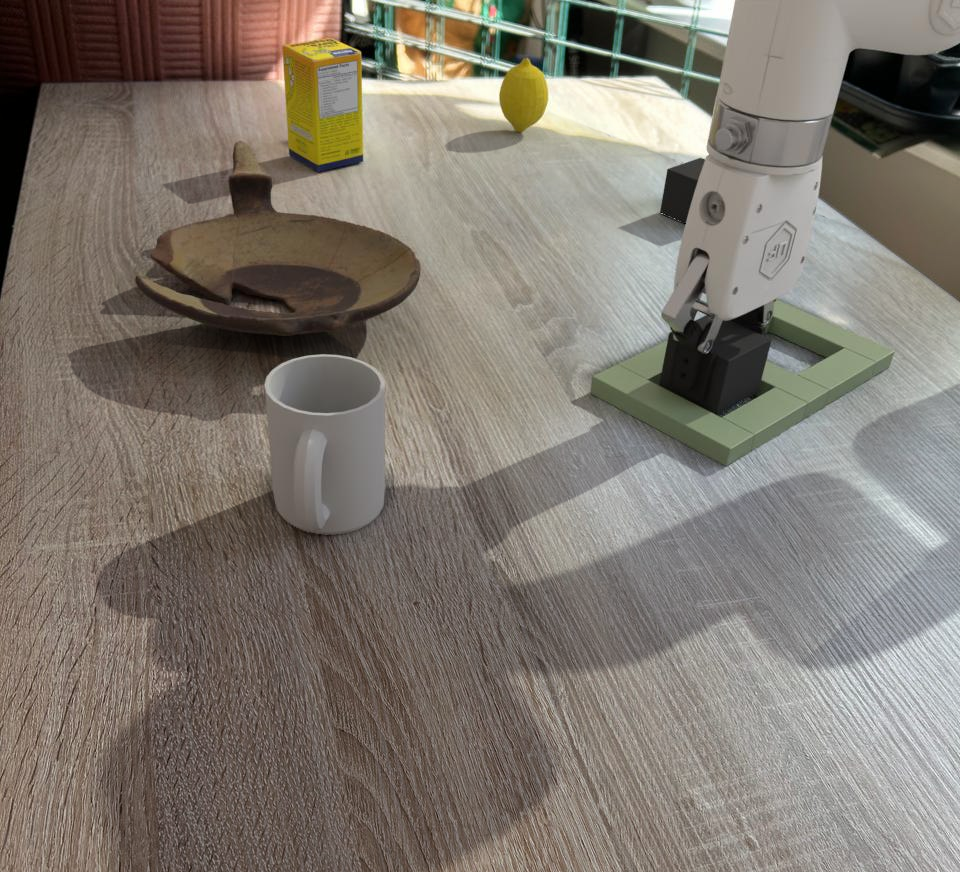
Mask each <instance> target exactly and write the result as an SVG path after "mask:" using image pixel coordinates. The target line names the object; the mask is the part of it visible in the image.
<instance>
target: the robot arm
mask: <svg viewBox="0 0 960 872" xmlns="http://www.w3.org/2000/svg"><path fill="white" fill-rule="evenodd" d="M959 44H960V0H734V4H733V9H732V14H731V19H730V26H729V29H728V35H727V41H726V46H725V51H724V56H723V61H722V66H721V71H720V77H719V82H718V86H717V92H716V96H715V100H714V106H713V110H712V117H711V121H710V126H709V132H708V136H707V143H706V147H705V148H706V152H707V155H706V156H705V158H704V159H705V162H704V165H703V168H702V171H701V173H700V176H699V179H698V183H697V186H696V189H695V192H694V195H693V199H692V202H691V206H690V209H689V213H688V217H687V221H686V224H684V228H683V233H682V236H681V243H680V246H679V251H678V256H677V261H676V266H675V273H674V278H673V279H674V281H673V292H672V293H671V295H670V296H669V298H668V300H667V302H666V304H665V305H664V306H663V309H662V310H661V314H660V316H661V319H662V320H663V321H664V322H665V323H666V324H667V326H668V327H669V329H670V332H673V333H674V334H673V339H674V340H675V341H677V342H676V347H675V352H674V357H673V362H672V367H671V372H670V377H669V386H670V387H671V388H673V389H675V390H677V391H679V392H681V393H683V394H685V395H687V396H688V397H690V398H692V399H694V400H696V401H702V400H704V399H705V398H706V397H707V392H708V388H709V384H710V379H711V375H712V371H713V366H714V362H715V358H716V353H717V352H716V351H714V350H712V347H713V344H714V342H715V339H716V337H717V334H718V332H719V329H720V327H721V324H722V322H723V320H724V321H728V320H731V321H733V322H735V323H738V324H740V325H742V326H744V327H746V328H749V329H751V330H753V331H755V332H757V333H760V334H762V335H764V336H765V334H764V333H765V330H766V327H765V326H763V325H762V324H765V325H766V324H768V323H769V321H770V320H771V318H772V316H773V308H774V302H775V301H776V299H777V300H778V299H779V298H781V297H783V296H785V295H787V294H788V293H789V292H791V291H792V290H793V289H795V288H796V286H797V285H798V284H799V282H800V280H801V277H802V273H803V269H804V266H805V261H806V258H807V253H808V250H809V245H810V241H811V236H812V232H813V226H814V221H815V217H816V212H817V206H818V200H819V195H820V188H821V180H822V170H823V155H824V151H825V147H826V144H827V139H828V137H829V132H830V129H831V125H832V121H833V117H834V113H835V109H836V105H837V103H838V98H839V95H840V90H841V86H842V83H843V79H844V75H845V71H846V68H847V64H848V60H849V56H850V53H851V52H853V51H854V50H857V49H864V50H873V51H879V52H886V53H892V54H893V53H894V54H899V55H905V56H927V55H933V54H937V53H941V52H943V51H946V50H949V49H951V48H953V47H955V46H957V45H959ZM703 294H704V295H705V296H706V301H704V300H702V299H701V298H702V296H703ZM698 312H699V313H701V314H703V315H705V316H706V315H708V316H709V318H708V321H707V323H706V326H705V328H704V331H703V330H702V328H701V327H700V325H699V323H698V322H696V321H695V318H696V316H697V313H698Z"/></svg>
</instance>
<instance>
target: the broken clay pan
mask: <svg viewBox="0 0 960 872" xmlns="http://www.w3.org/2000/svg"><path fill="white" fill-rule="evenodd" d="M232 165H233V167H232V173H231V174H230V176H229V177H228V181H227V183H228V188H229V194H230V199H231V207H232V210H233V213H228V214H227V215H224V216H220V217H216V218H211V219H206V220H201V221H195V222H192V223H188V224H185V225H182V226H180V227H176V228H172V229H169V230H167V231H165V232H163V233H162V234H160V235H159V236H158V237H157V240H156V245H155V247H154V248H153V250H152V251H150V253H149V257H150V258H151V259H152V260H153V261H154V262H156V263H157V264H158V265H159V266H160V267H161V268H162V269H164V270H165V271H166V272H168V273H169V274H172V275H173V276H174V277H176V278H177V279H178V280H179V281H181V282H182V283H184V284H186V285H187V286H189V287H190V288H191V290H195V291H196V292H197V293H200V294H202V295H203V296H204V297H206V298H201V297H196V296H193V295H191V294H190V295H189V294H184V293H180V292H177V291H176V290H174V289H171V288H169V287H166V286H162V285H161V284H158V283H156V282H154V281H152V280H150V279H148V278H147V277H144V276H141V275H135V277H134V279H135V280H134V282H135V285H136V286H137V287H138V289H139V290H140V291H141V292H142V294H143V295H145V296H146V297H147V298H148V299H149V300H151V301H153V302H155V303H156V304H158V305H159V306H160V307H162V308H165V309H166V310H169V311H170V312H173V313H175V314H177V315H180V316H182V317H184V318H186V319H189V320H192V321H195V322H197V323H200V324H203V325H207V326H210V327H213V328H217V329H223V330H227V331H232V332H239V333H247V334H256V335H257V334H259V335H270V336H271V335H275V336H283V337H286V336H287V337H289V336H290V337H291V336H295V335H306V334H315V333H323V332H338V331H341V330H343V329H344V328H346V327H350V326H353V325H356V324H359V323H362V322H364V321H367V320H370V319H374V318H375V317H377V316H379V315H382V314H384V313H387V312H388V311H390V310H392V309H394V308H395V307H398V306H399V305H400V304H402V303H403V302H404V301H405V300H407V299H408V297H409V296H410V295H411V294H413V292H414V291H415V289H416V288H417V286H418V284H419V281H420V276H421V262H420V259H419V258H416V254H415V252H414V251H413V249H412V248H411V247H409V246H408V245H407V244H405V243H404V242H402V241H401V240H399V238H396V237H394V236H392V235H391V234H388V233H386V232H383V231H381V230H379V229H374V228H372V227H368V226H365V225H361V224H357V223H353V222H349V221H347V220H340V219H338V218H332V217H327V216H320V215H317V214H316V215H314V214H301V213H290V212H279V211H277V210H276V209H275V208H274V206H273V204H272V189H273V180H272V179H273V178H272V176H271V175H270V174H267V173H265V172H263V169H262V168H261V166H260V165H259V162H258V160H257V158H256V156H255V153H254V151H253V150H252V148H251V146H250V145H249V144H248V143H246V142H245V141H243V140H238V141H237V142H236V143H234V146H233V151H232ZM233 289H235V290H238V291H241V292H243V293H244V294H246V295H249V296H255V297H258V298H259V297H260V298H264V299H268V300H276V301H278V302H282V303H284V304H285V306H286V307H287V308H289V309H290V311H291V312H273V311H270V310H269V311H263V310H255V309H250V310H249V309H248V308H244V307H240V306H233V305H231V302H232V298H233V292H232V291H233ZM209 299H210V300H209Z"/></svg>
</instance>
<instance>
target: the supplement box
mask: <svg viewBox="0 0 960 872" xmlns="http://www.w3.org/2000/svg"><path fill="white" fill-rule="evenodd" d="M281 48H282V62H283V63H282V64H283V78H284V79H283V80H284V97H285V111H286V125H287V126H286V127H287V144H288V156H289V157H290V158H292V159H294V160H296V161H297V162H300V163H301V164H302V165H304V166H306V167H308V168H310V169H311V170H314V171H316V172H317V173H320V172H325V171H328V170H332V169H336V168H341V167H345V166H348V165H353V164H359V163H363V162H364V128H363V127H364V124H363V123H364V122H363V121H364V120H363V118H364V117H363V78H362V77H363V76H362V75H363V73H362V71H363V70H362V68H363V67H362V51H361V50H359V49H357V48H354V47H352V46H349V45H348V44H346V43H343V42H341V41H338V40H337V39H335V38H332V37H326V38H320V39H314V40H313V39H312V40H306V41H301V42H300V41H299V42H295V43H288V44H287V43H286V44H282V45H281Z"/></svg>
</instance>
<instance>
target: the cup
mask: <svg viewBox="0 0 960 872" xmlns="http://www.w3.org/2000/svg"><path fill="white" fill-rule="evenodd" d="M264 381H265V382H264V396H265V409H266V421H267V432H268V443H269V456H270V457H269V458H270V468H271V481H272V493H273V498H274V503H275V509H276V511H277V512H278V514H279V515H280V516H281V517H282V519H283V520H285V522H287V523H288V524H289V523H290V524H289V525H291V526H292V525H293V526H292V527H294V528H295V527H296V529H298V528H299V529H298V530H300V529H301V530H300V531H302V530H303V532H305V531H306V532H305V533H309V532H311V533H310V534H313V533H316V534H315V535H318V534H322V535H321V536H338V535H344V534H345V535H346V534H350V533H353V532H355V531H359V530H361V529H363V528H364V527H366V526H368V525H370V524H371V523H372V522H373V521H374V520H375V519H376V518H377V517H378V516H379V515H380V513H381V511H382V510H383V508H384V505H385V493H386V381H385V379H384V377H383V374H382V373H381V372H380V371H379V370H377V368H376V367H375V366H372V365H371V364H369V363H367V362H366V361H363V360H360V359H357V358H354V357H350V356H345V355H339V354H325V353H323V354H322V353H321V354H310V355H304V356H300V357H295V358H292V359H289V360H287V361H284V362H282V363H280V364H278V365H277V366H276V367H274V368H273V369H271V371H270V372H269V374H267V376H266V377H265V380H264ZM323 534H324V535H323ZM329 534H330V535H329ZM337 534H338V535H337Z"/></svg>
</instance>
